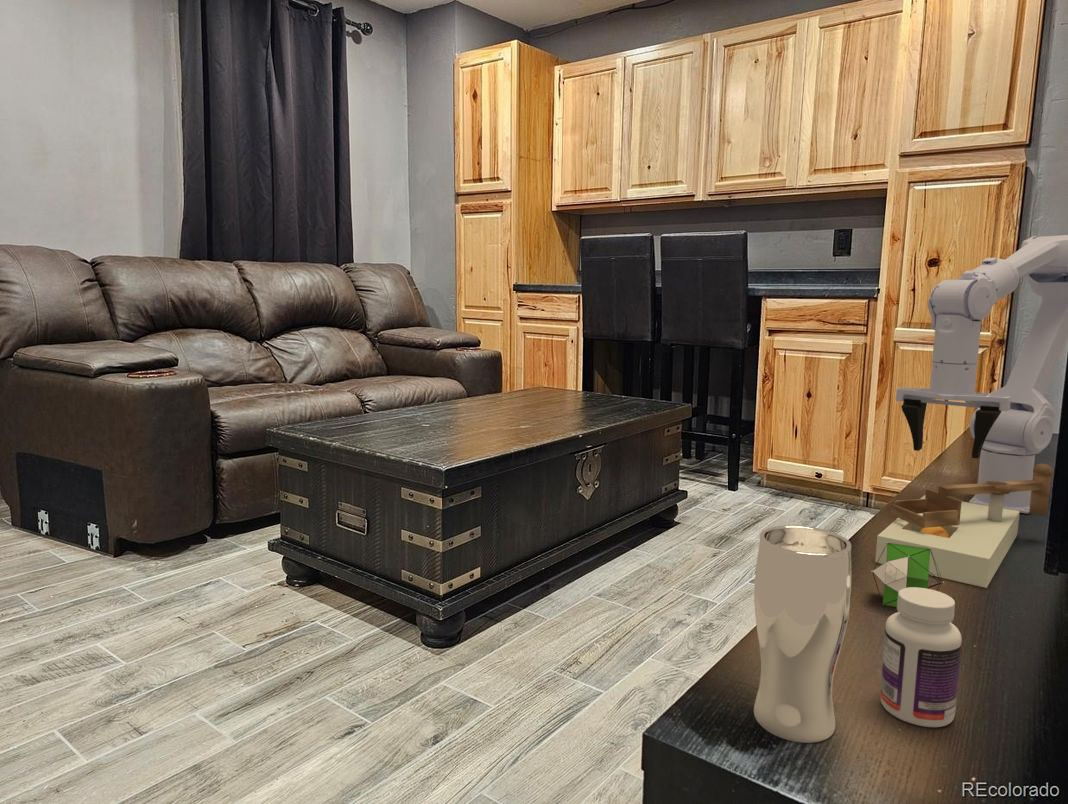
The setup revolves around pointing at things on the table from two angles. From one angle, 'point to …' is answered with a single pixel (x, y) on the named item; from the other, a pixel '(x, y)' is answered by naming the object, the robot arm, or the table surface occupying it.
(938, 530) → the ball
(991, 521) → the cream shape sorter
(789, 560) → the beer glass
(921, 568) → the geometric puzzle
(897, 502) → the lever
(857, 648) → the table surface
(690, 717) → the table surface
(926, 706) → the pill bottle
